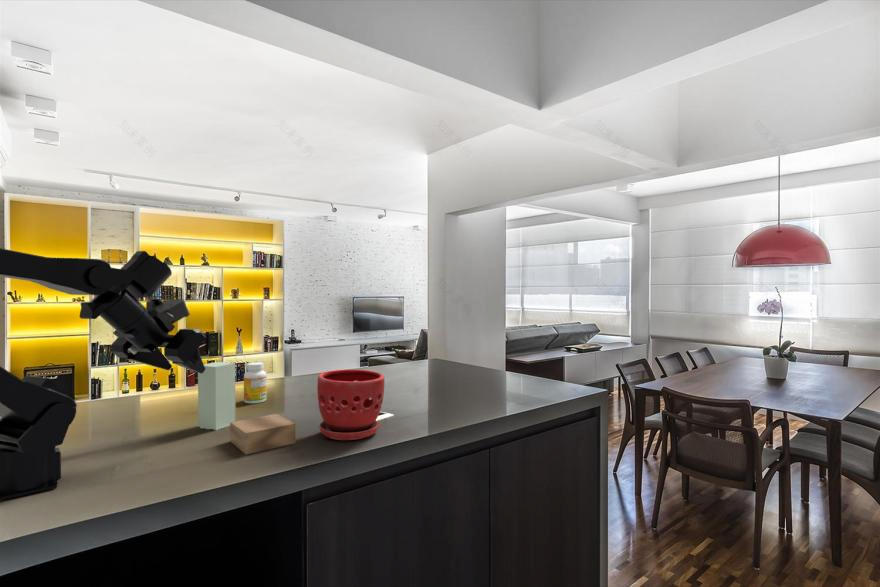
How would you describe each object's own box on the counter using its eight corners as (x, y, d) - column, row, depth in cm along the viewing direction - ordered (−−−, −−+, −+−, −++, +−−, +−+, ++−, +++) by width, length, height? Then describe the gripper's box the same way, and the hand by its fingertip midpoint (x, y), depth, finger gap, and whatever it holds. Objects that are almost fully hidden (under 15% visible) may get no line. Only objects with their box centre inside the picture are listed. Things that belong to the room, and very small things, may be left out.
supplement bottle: (243, 399, 120) (243, 362, 120) (265, 397, 122) (265, 361, 122) (244, 404, 115) (244, 365, 115) (267, 402, 117) (267, 364, 117)
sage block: (216, 430, 94) (215, 366, 94) (198, 427, 96) (198, 365, 96) (235, 423, 98) (235, 363, 98) (218, 421, 100) (217, 361, 100)
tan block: (245, 456, 80) (245, 433, 80) (230, 443, 87) (230, 422, 87) (295, 444, 86) (295, 423, 86) (277, 433, 93) (277, 413, 93)
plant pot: (322, 448, 83) (322, 382, 83) (313, 428, 95) (313, 370, 95) (392, 439, 88) (392, 377, 88) (375, 421, 100) (375, 366, 100)
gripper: (196, 284, 82) (244, 339, 92) (126, 284, 89) (179, 336, 99) (154, 332, 74) (212, 387, 85) (82, 329, 82) (143, 379, 92)
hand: (186, 369), depth 90 cm, fingers open, 9 cm apart
